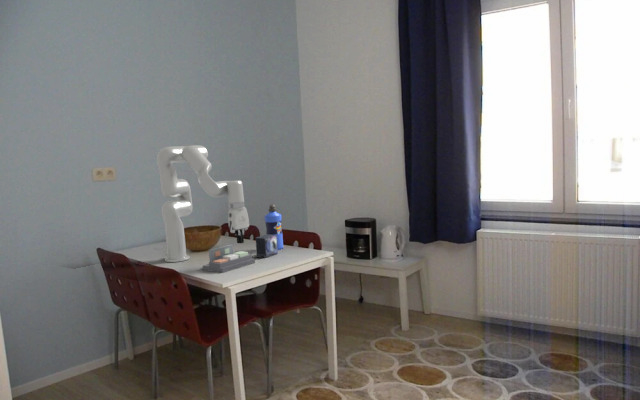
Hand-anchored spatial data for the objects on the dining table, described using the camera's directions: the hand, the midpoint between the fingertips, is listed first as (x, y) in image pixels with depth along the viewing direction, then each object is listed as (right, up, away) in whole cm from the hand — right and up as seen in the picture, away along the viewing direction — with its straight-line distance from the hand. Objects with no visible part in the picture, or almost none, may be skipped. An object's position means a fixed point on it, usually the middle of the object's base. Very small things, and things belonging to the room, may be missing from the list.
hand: (240, 242), depth 247 cm
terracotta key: (-8, -9, -9) cm, 15 cm away
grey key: (-4, -8, -4) cm, 9 cm away
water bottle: (+14, -6, +33) cm, 37 cm away
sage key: (0, -7, +1) cm, 7 cm away
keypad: (-5, -11, -3) cm, 12 cm away
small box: (+12, -8, +16) cm, 22 cm away
